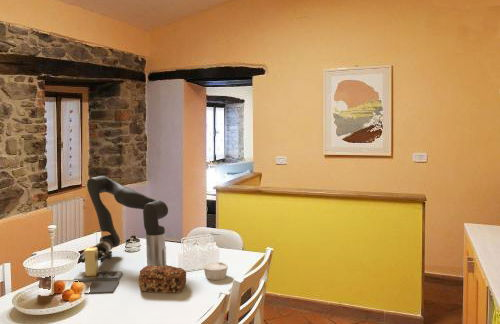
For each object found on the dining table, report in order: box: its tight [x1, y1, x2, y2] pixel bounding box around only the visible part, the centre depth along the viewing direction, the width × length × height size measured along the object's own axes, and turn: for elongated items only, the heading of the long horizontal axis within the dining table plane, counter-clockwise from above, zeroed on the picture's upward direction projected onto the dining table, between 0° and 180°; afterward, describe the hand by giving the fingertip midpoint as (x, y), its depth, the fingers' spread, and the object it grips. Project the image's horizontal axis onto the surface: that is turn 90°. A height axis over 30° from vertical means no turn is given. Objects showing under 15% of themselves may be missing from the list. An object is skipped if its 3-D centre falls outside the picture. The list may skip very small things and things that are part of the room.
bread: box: [138, 265, 187, 294], centre depth 189 cm, size 19×11×10 cm, turn 82°
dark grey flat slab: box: [73, 270, 124, 283], centre depth 203 cm, size 20×9×2 cm, turn 94°
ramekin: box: [203, 261, 229, 281], centre depth 203 cm, size 11×11×5 cm
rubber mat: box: [88, 280, 120, 295], centre depth 191 cm, size 12×12×1 cm
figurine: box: [37, 275, 56, 290], centre depth 185 cm, size 7×7×12 cm
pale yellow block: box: [83, 246, 99, 277], centre depth 202 cm, size 5×5×14 cm
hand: (92, 260), depth 203 cm, fingers open, 8 cm apart
